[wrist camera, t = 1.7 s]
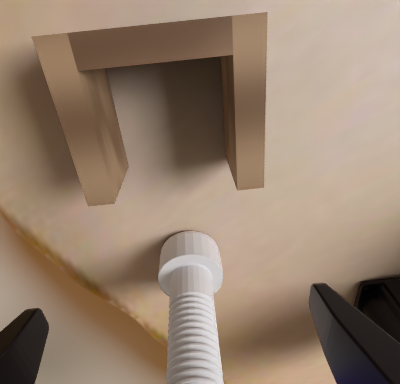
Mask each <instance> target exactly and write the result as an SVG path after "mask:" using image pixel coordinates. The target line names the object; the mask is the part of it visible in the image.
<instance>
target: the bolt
mask: <svg viewBox="0 0 400 384" xmlns="http://www.w3.org/2000/svg"><path fill="white" fill-rule="evenodd" d="M158 282H159V286H160V288H161V289H162V291H163V292H164V293H165V294H166V295H168V296H169V297H170V302H169V309H170V310H169V330H168V334H169V335H168V352H167V355H168V358H167V375H166V380H167V384H224V381H223V379H222V378H223V372H222V364H221V356H220V348H219V340H218V333H217V322H216V314H215V308H214V297H213V294H214V293H216V292H217V291H218V289H219V288H220V287H221V285H222V282H223V271H222V265H221V259H220V253H219V249H218V246H217V244H216V243H215V241H214V240H213V239H212V238H211V237H209V236H208V235H206V234H204V233H201V232H196V231H185V232H180V233H177V234H175V235H173V236H171V237H170V238H169V239H168V240H167V241H166V242H165V243H164V245H163V247H162V249H161V254H160V263H159V274H158Z"/></svg>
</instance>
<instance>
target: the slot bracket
mask: <svg viewBox="0 0 400 384" xmlns="http://www.w3.org/2000/svg"><path fill="white" fill-rule="evenodd" d="M32 39H33V42H34V45H35V48H36V51H37V54H38V57H39V60H40V63H41V66H42V69H43V72H44V75H45V78H46V81H47V84H48V87H49V90H50V93H51V96H52V99H53V102H54V105H55V108H56V111H57V114H58V117H59V120H60V123H61V126H62V129H63V132H64V135H65V138H66V141H67V144H68V147H69V150H70V153H71V156H72V159H73V162H74V165H75V168H76V171H77V174H78V177H79V180H80V183H81V186H82V189H83V192H84V195H85V198H86V201H87V204H88V206H95V205H105V204H114V203H115V201H116V198H117V196H118V193H119V191H120V188H121V185H122V183H123V180H124V177H125V175H126V172H127V170H128V162H127V158H126V154H125V149H124V145H123V141H122V137H121V132H120V128H119V124H118V119H117V115H116V111H115V107H114V102H113V98H112V94H111V89H110V85H109V81H108V76H107V72H106V68H112V67H122V66H132V65H141V64H151V63H160V62H170V61H179V60H189V59H199V58H208V57H218V56H221V72H222V92H223V112H224V132H225V152H226V159H227V162H228V164H229V167H230V170H231V173H232V176H233V179H234V182H235V185H236V188H237V190H246V189H255V188H264V149H265V101H266V53H267V12H265V13H255V14H246V15H236V16H226V17H217V18H207V19H198V20H188V21H178V22H169V23H159V24H149V25H140V26H130V27H121V28H111V29H101V30H92V31H82V32H73V33H63V34H53V35H44V36H34V37H32Z"/></svg>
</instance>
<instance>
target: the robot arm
mask: <svg viewBox="0 0 400 384" xmlns="http://www.w3.org/2000/svg"><path fill="white" fill-rule="evenodd" d="M309 307H310V310H311V313H312V317H313V320H314V323H315V326H316V329H317V333H318V336H319V339H320V342H321V345H322V349H323V351H324V354H325V357H326V359H327V362H328V364H329V367H330V369H331V371H332V374H333V376H334V378H335V380H336V383H337V384H400V278H392V279H383V280H374V281H365V282H362V283H361V284H360V286H359V290H358V294H357V298H356V302H355V305H354V306H353V305H352V304H350V303H349V302H348V301H347V300H345V299H344V298H343V297H342V296H340V295H339V294H338V293H337V292H336V291H334V290H333V289H332V288H331V287H329V286H328V285H327V284H325V283H315V284H312V285H311V290H310V296H309ZM48 330H49V325H48V322H47V320H46V318H45V316H44V314H43V312H42V310H41V309H39V308H33V309H27V310H25V311H24V312H23V313H21V314H20V315H19V316H18V317H17V318H16V319H14V320H13V321H12V322H11V323H10V324H9V325H8V326H7V327H5V328H4V329H3V330H2V331H1V332H0V384H34V383H35V380H36V377H37V374H38V370H39V366H40V362H41V358H42V354H43V351H44V347H45V343H46V339H47V335H48Z"/></svg>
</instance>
